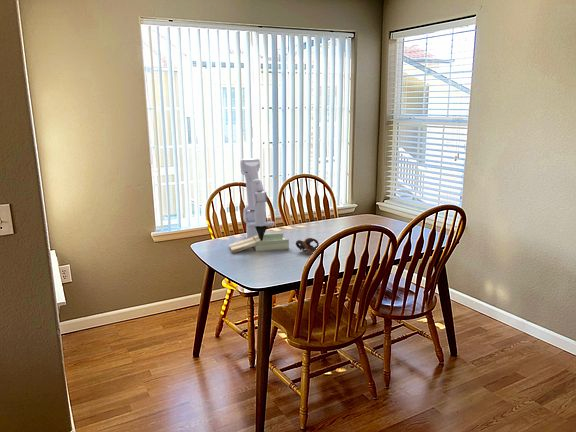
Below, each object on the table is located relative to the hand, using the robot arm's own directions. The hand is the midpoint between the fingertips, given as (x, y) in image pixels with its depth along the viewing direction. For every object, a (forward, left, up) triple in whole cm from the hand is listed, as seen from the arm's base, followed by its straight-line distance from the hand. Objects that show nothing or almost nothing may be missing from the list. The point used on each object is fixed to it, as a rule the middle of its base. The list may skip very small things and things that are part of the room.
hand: (261, 240), depth 253 cm
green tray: (0, +5, -4) cm, 6 cm away
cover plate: (0, -8, -2) cm, 8 cm away
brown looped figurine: (+14, +21, -4) cm, 25 cm away
